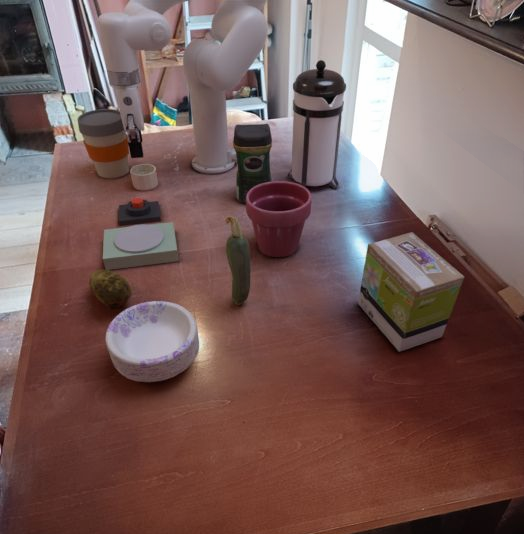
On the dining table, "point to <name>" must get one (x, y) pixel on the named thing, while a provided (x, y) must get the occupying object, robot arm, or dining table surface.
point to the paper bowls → (152, 341)
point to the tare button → (137, 203)
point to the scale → (139, 245)
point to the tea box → (408, 290)
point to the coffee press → (316, 126)
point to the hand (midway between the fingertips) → (137, 149)
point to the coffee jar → (252, 157)
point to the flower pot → (278, 215)
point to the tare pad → (139, 213)
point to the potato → (110, 288)
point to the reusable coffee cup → (105, 141)
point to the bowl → (144, 177)
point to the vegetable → (238, 261)
